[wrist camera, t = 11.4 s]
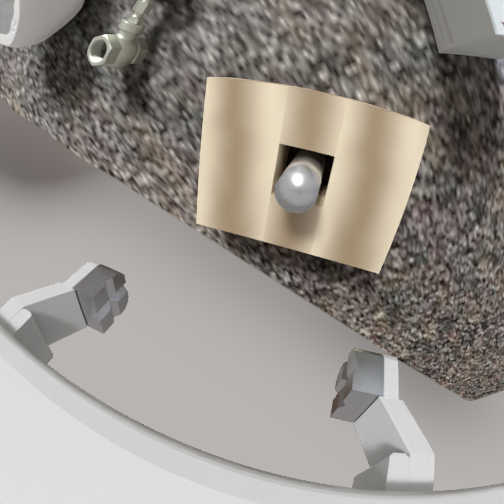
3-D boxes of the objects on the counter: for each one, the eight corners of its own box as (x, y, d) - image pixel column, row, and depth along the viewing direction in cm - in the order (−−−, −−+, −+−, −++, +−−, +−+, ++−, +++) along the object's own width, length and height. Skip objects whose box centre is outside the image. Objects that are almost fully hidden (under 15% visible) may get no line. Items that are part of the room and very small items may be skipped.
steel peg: (328, 149, 27) (321, 178, 19) (322, 177, 29) (312, 217, 21) (298, 142, 28) (277, 168, 20) (293, 170, 29) (271, 207, 21)
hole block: (413, 118, 23) (430, 125, 18) (375, 242, 31) (378, 273, 26) (232, 77, 26) (207, 76, 21) (219, 200, 34) (196, 223, 29)
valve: (147, 76, 28) (201, -10, 21) (109, 80, 23) (169, -26, 16) (112, 55, 27) (160, -26, 20) (74, 57, 22) (124, -39, 15)
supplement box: (498, 60, 16) (571, 59, 6) (436, 54, 19) (494, 36, 8) (481, -4, 12) (541, -35, 2) (418, -13, 15) (456, -64, 5)
